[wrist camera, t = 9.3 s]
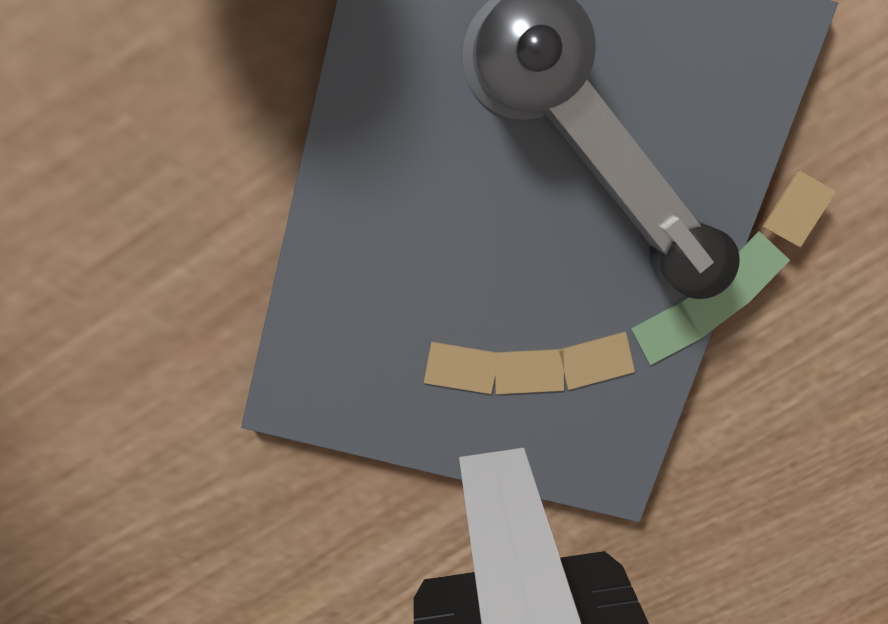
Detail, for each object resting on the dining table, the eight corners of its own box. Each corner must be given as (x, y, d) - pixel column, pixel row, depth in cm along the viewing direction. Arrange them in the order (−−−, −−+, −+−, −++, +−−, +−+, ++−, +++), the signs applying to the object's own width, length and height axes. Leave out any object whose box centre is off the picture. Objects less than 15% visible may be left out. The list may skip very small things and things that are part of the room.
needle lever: (450, 48, 31) (455, 41, 27) (533, -28, 30) (549, -46, 27) (663, 308, 34) (692, 333, 31) (742, 245, 34) (782, 262, 30)
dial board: (246, 417, 37) (240, 429, 35) (372, -137, 31) (370, -149, 29) (686, 522, 39) (696, 537, 38) (885, 26, 33) (905, 22, 32)
